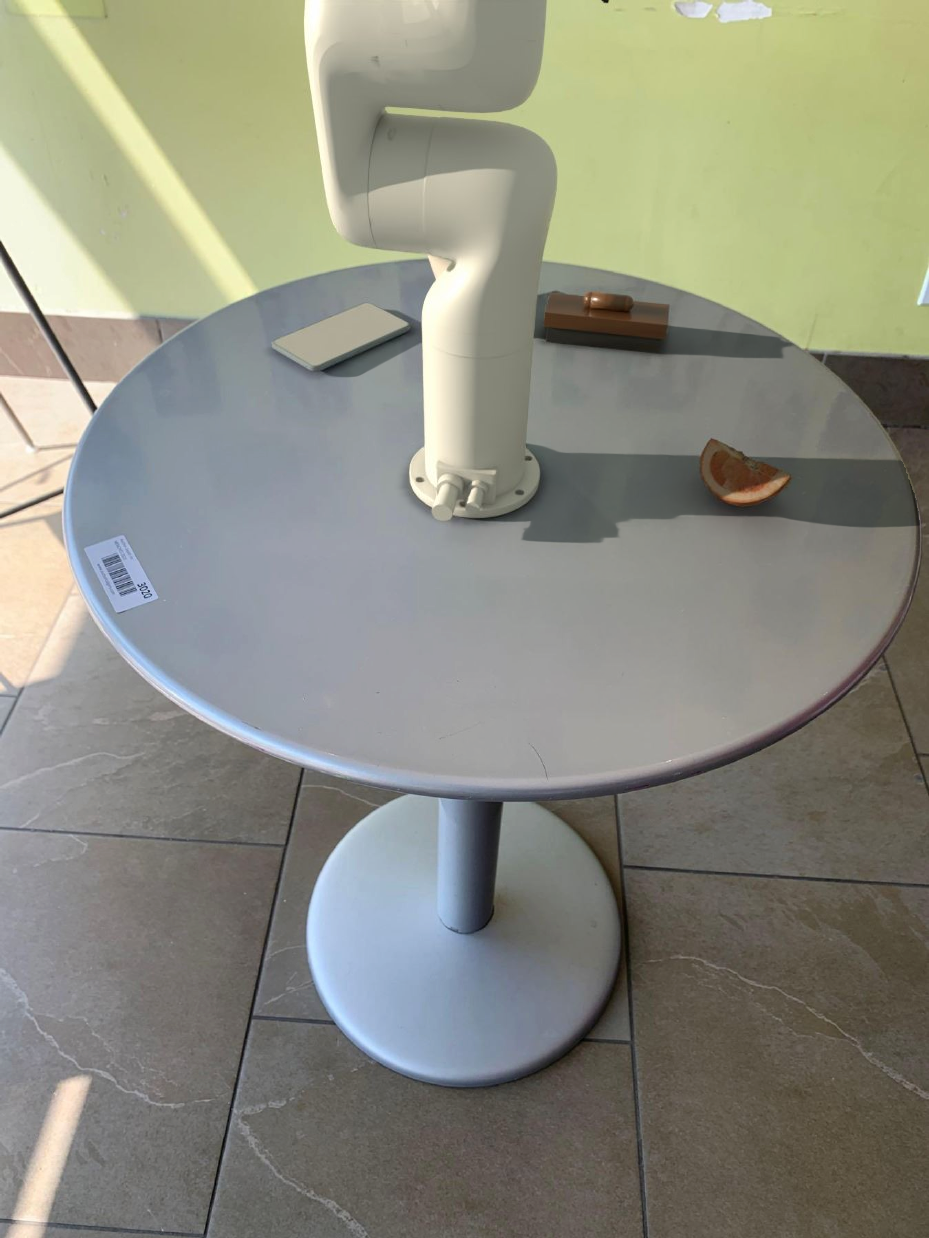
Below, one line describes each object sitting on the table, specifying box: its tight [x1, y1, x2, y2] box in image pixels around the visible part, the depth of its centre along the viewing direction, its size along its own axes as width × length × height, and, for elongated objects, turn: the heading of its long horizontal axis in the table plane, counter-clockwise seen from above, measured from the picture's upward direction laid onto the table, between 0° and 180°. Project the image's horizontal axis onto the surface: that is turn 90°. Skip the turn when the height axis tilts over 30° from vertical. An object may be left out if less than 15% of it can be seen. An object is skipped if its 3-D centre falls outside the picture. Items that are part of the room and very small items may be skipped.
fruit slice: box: [699, 437, 793, 507], centre depth 84 cm, size 8×7×5 cm
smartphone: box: [271, 302, 411, 373], centre depth 106 cm, size 8×1×15 cm
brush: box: [543, 291, 670, 354], centre depth 105 cm, size 5×14×6 cm, turn 79°
